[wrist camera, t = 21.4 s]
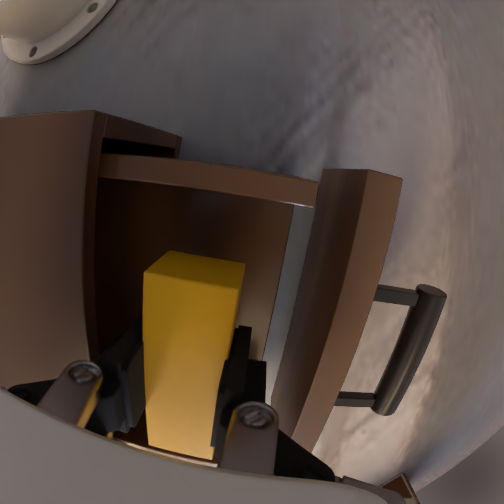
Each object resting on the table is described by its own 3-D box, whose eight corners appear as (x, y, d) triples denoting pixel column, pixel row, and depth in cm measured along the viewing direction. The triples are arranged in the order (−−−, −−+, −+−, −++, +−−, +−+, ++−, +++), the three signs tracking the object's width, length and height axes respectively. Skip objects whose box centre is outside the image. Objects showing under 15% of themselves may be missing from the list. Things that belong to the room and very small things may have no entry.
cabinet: (181, 136, 17) (95, 109, 7) (162, 375, 21) (115, 473, 12) (5, 133, 17) (-89, 136, 8) (11, 322, 21) (-55, 374, 12)
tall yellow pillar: (169, 249, 11) (143, 271, 8) (245, 262, 11) (239, 289, 8) (163, 421, 13) (149, 457, 11) (218, 433, 13) (210, 472, 11)
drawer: (422, 193, 16) (509, 215, 8) (352, 404, 20) (376, 487, 12) (96, 140, 16) (5, 134, 8) (95, 357, 20) (42, 423, 13)
